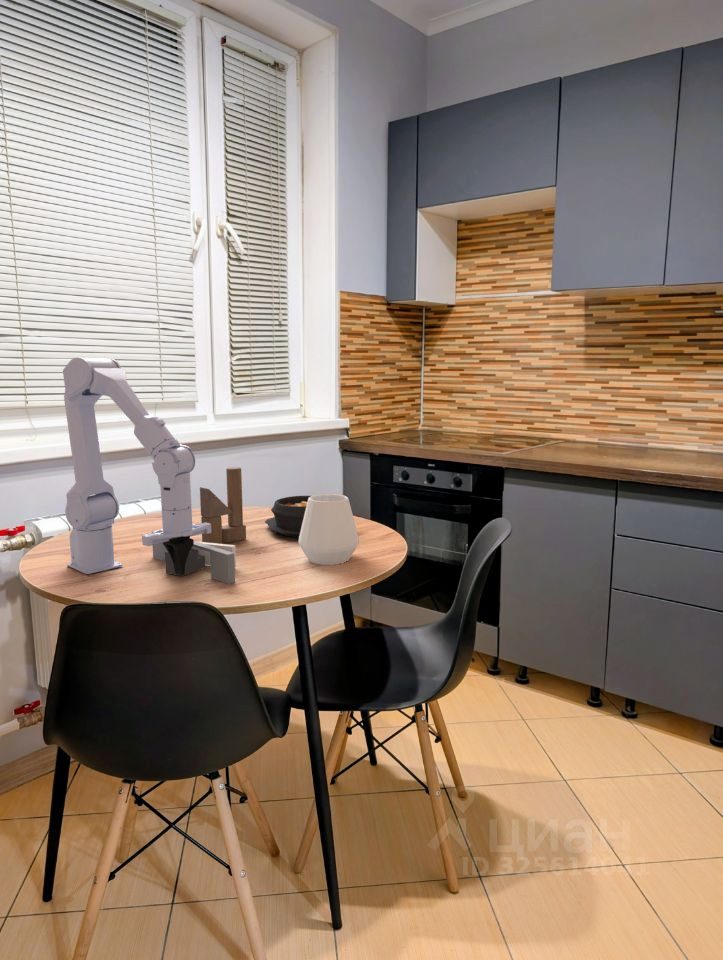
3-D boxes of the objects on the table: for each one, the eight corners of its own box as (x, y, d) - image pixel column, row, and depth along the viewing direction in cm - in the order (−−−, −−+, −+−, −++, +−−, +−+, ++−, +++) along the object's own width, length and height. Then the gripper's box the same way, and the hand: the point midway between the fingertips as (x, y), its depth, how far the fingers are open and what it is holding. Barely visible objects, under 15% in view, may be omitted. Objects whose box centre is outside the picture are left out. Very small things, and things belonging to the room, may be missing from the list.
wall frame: (153, 557, 151) (151, 531, 150) (159, 555, 152) (158, 530, 151) (228, 584, 132) (227, 554, 131) (235, 582, 133) (234, 552, 132)
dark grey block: (165, 573, 139) (164, 551, 138) (188, 564, 145) (188, 544, 144) (182, 576, 137) (181, 554, 136) (205, 567, 143) (204, 547, 142)
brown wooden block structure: (201, 545, 161) (198, 471, 158) (237, 536, 169) (235, 466, 166) (210, 548, 159) (207, 472, 156) (246, 539, 167) (244, 467, 164)
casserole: (363, 536, 170) (363, 503, 169) (302, 548, 158) (302, 513, 157) (306, 519, 189) (305, 489, 188) (248, 529, 177) (247, 498, 176)
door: (170, 561, 146) (169, 540, 146) (173, 559, 148) (172, 539, 147) (233, 567, 142) (232, 546, 141) (235, 566, 143) (235, 545, 142)
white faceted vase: (358, 550, 156) (358, 491, 154) (359, 567, 143) (359, 503, 141) (300, 551, 156) (299, 492, 154) (296, 568, 143) (295, 503, 140)
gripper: (154, 516, 125) (158, 586, 127) (219, 504, 136) (221, 569, 138) (134, 511, 130) (139, 579, 132) (198, 500, 140) (201, 563, 142)
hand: (179, 573), depth 135 cm, fingers closed
